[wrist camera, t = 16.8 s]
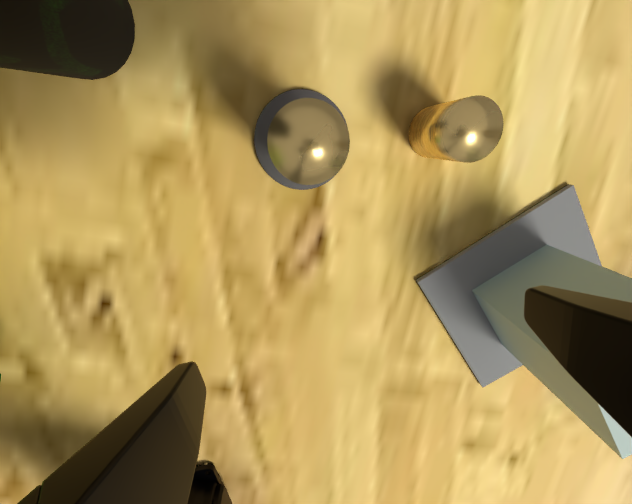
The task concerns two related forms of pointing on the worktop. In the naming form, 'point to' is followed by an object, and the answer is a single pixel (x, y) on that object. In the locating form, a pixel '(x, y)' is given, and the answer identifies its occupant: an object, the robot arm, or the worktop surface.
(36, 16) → the cup
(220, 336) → the worktop surface
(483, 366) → the mat
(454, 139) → the pin
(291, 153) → the peg
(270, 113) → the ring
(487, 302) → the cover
